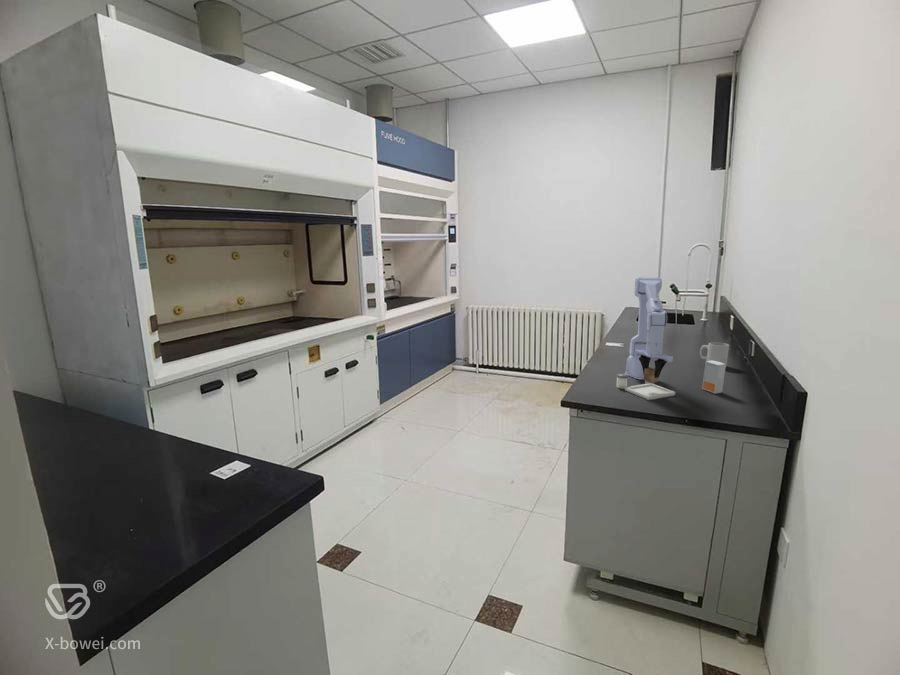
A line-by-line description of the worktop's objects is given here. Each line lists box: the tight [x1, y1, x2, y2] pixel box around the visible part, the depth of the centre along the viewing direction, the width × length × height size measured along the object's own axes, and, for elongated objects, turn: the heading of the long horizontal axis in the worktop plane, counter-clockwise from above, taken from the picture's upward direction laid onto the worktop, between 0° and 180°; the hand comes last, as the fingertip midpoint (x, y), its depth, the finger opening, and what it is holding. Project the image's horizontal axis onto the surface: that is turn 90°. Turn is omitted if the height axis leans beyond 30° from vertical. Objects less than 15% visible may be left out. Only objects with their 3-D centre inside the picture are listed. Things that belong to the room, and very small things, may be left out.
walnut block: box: [643, 366, 660, 384], centre depth 176 cm, size 4×4×5 cm
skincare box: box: [701, 360, 727, 394], centre depth 178 cm, size 6×4×12 cm
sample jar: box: [615, 373, 629, 390], centre depth 184 cm, size 4×4×5 cm
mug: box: [699, 341, 730, 369], centre depth 214 cm, size 12×8×11 cm
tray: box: [624, 383, 676, 401], centre depth 177 cm, size 12×14×1 cm
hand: (651, 375), depth 175 cm, fingers closed on walnut block, 4 cm apart
